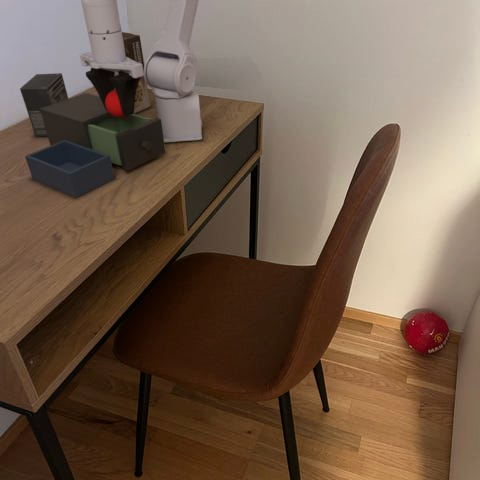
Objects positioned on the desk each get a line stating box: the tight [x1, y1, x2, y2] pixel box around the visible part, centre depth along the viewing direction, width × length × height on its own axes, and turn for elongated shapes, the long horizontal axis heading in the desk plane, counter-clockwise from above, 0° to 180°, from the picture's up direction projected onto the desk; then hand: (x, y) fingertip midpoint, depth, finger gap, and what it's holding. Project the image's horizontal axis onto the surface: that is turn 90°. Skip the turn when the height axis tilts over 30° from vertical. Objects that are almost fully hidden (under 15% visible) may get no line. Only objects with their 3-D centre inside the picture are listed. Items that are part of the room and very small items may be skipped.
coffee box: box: [114, 31, 151, 114], centre depth 113 cm, size 9×6×16 cm
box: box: [24, 140, 115, 199], centre depth 89 cm, size 13×9×5 cm
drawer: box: [86, 113, 166, 172], centre depth 94 cm, size 14×11×7 cm
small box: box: [19, 72, 69, 137], centre depth 107 cm, size 11×6×10 cm, turn 178°
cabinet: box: [40, 92, 111, 149], centre depth 99 cm, size 13×12×8 cm
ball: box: [105, 90, 125, 118], centre depth 90 cm, size 5×5×5 cm
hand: (119, 112), depth 91 cm, fingers closed on ball, 4 cm apart
